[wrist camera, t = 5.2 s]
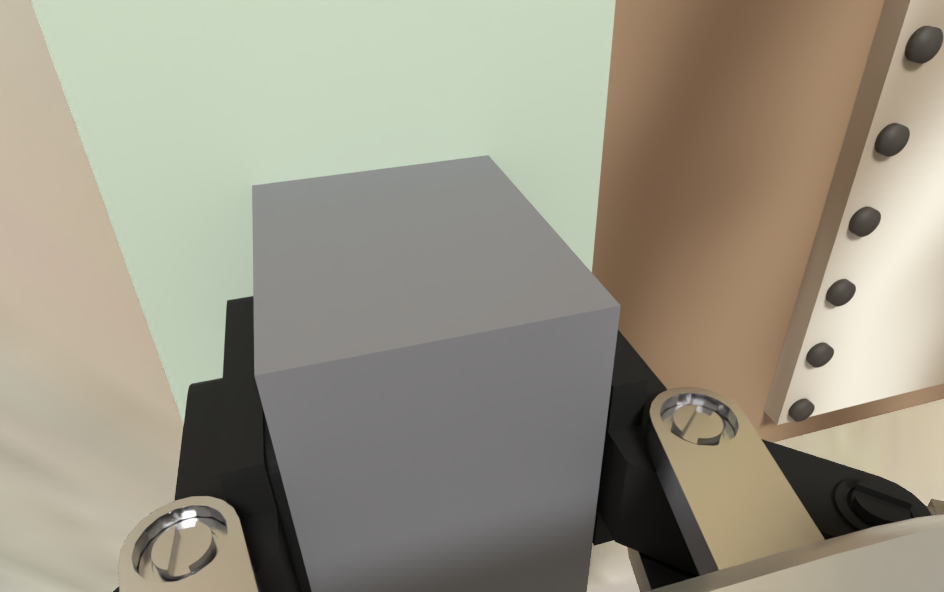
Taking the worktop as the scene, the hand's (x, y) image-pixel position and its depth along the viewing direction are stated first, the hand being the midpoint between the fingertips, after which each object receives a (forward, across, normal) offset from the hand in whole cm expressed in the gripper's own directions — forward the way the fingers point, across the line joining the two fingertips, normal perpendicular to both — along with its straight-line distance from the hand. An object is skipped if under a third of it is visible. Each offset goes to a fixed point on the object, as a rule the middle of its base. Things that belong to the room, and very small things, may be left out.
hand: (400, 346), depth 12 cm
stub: (+2, 0, 0) cm, 2 cm away
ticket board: (+4, -14, 0) cm, 14 cm away
